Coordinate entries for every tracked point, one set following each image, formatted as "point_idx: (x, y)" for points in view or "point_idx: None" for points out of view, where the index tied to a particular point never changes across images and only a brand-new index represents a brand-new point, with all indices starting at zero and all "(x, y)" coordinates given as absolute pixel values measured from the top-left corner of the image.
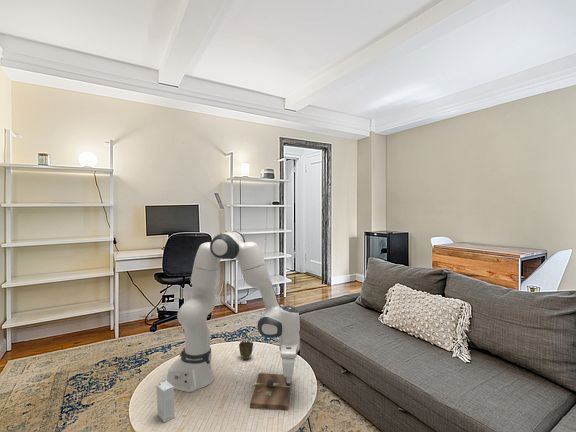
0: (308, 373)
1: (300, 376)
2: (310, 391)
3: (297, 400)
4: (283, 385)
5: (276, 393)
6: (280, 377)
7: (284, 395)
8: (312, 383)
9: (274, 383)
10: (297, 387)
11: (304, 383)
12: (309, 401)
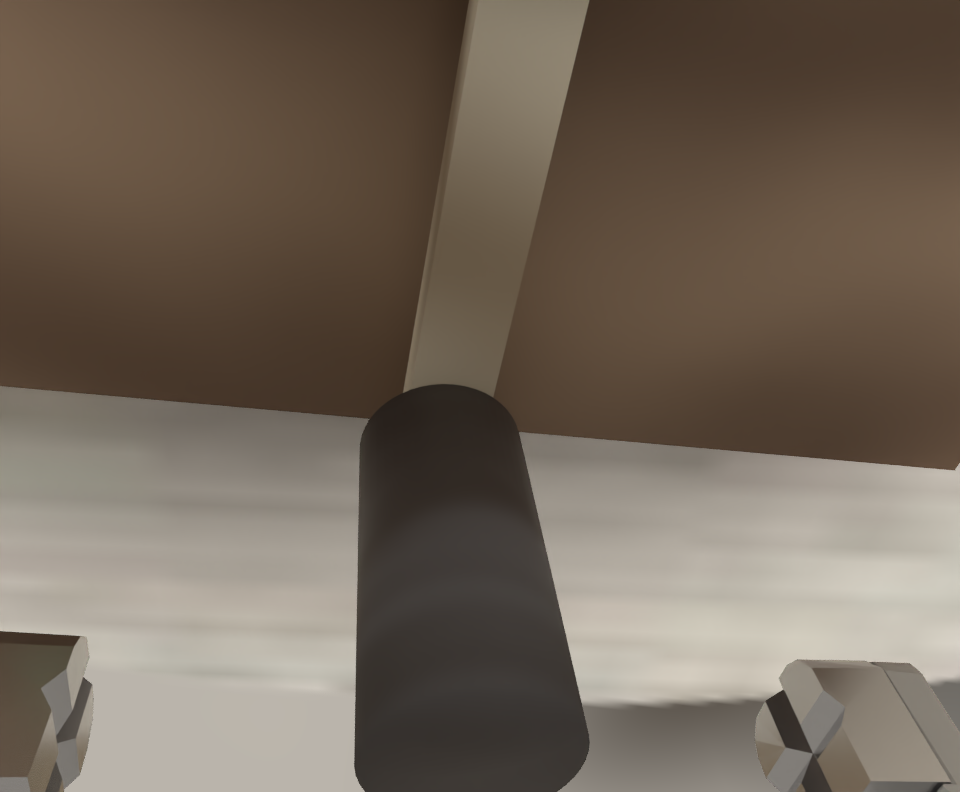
0: (940, 666)
1: (910, 564)
2: None
3: (124, 486)
4: (419, 320)
5: (109, 51)
6: (952, 229)
7: (41, 291)
8: (642, 699)
9: (541, 26)
10: (571, 506)
11: (672, 608)
12: (125, 648)
